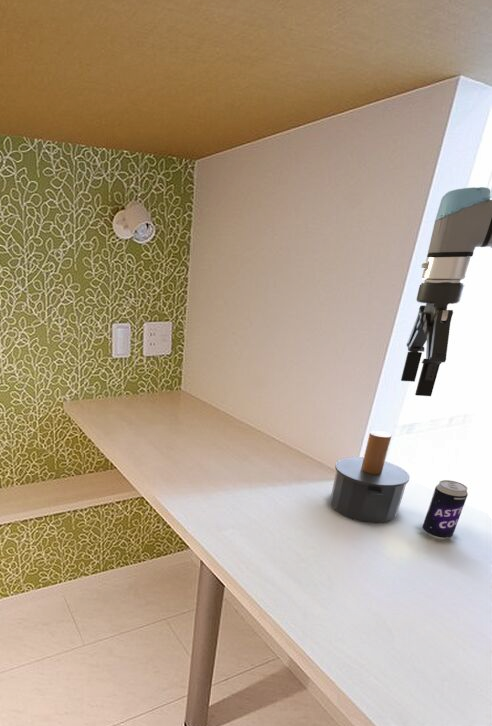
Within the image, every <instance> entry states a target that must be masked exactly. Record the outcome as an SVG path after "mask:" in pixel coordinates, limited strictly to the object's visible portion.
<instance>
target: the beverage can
mask: <svg viewBox="0 0 492 726" xmlns="http://www.w3.org/2000/svg"><path fill="white" fill-rule="evenodd" d="M468 495H469V494H468V487H467V486H466V485H465V484H463V483H461V482H460V481H459V482H458V481H455V480H451V479H450V480H449V479H444V480H440V481H439V483H438V484H437V485H436V486H435V487H434V491H433V493H432V497H431V500H430V502H429V506H428V509H427V512H426V515H425V518H424V521H423V524H422V529H423V531H424V532H425V534H426V535H428V536H429V537H431V538H434V539H437V540H446V539H448V538H451V537H453V536H454V533H455V531H456V528H457V526H458V522H459V520H460V516H461V514H462V511H463V509H464V506H465V503H466V500H467V498H468Z"/></svg>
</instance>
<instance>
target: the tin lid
mask: <svg viewBox="0 0 492 726" xmlns="http://www.w3.org/2000/svg"><path fill="white" fill-rule="evenodd" d="M391 439H392V434H391V433H390V432H387V431H383V430H371V431H370V432H369V434H368V439H367V443H366V447H365V451H364V456H363V457H361V456H352V457H345V458H341V459H339V460H337V461H336V463H335V466H334V468H335V472H336V471H337V472H338V473H339V474H340V475H342V476H343V477H345V478H347V479H349V480H351V481H354V482H357V483H360V484H364V485H369V486H374V487H385V488H391V487H399V486H403V485H405V484H406V485H407V484H408V483H409V481H410V474H409V473H408V472H407V471H406V470H405V469H403V468H402V467H400V466H398V465H397V464H394V463H391V462H388V461H386V458H387V455H388V451H389V447H390V444H391Z"/></svg>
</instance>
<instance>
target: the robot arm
mask: <svg viewBox="0 0 492 726" xmlns="http://www.w3.org/2000/svg"><path fill="white" fill-rule="evenodd" d="M430 237H431V238H430V241H429V245H428V250H427V255H426V260H425V262H423V263H422V264H421V269H423V272H422V276H421V280H424V281H423V282H421V283H420V284H419V287H418V291H417V295H416V298H415V301H416V303H418V304H423V305H420V306H419V308H418V312H417V316H416V319H415V322H414V324H413V327H412V329H411V332H410V334H409V338H408V340H407V343H406V348H407V353H406V357H405V362H404V366H403V370H402V374H401V379H400V381H401V382H415V381H416V378H417V375H418V371H419V366H420V362H421V364H422V367H421V370H420V373H419V374H420V375H419V379H418V381H417V386H416V390H415V393H414V395H415V396H418V397H419V396H420V397H421V396H422V397H432V394H433V390H434V386H435V383H436V381H437V380H436V379H437V376H438V373H439V369H440V366H441V365H442V363H445V362H446V361H447V354H448V346H449V339H450V338H449V337H450V330H451V322H452V317H453V314H454V310H453V309H448V306H449V305H453V304H458V303H460V302H461V299H462V295H463V293H464V288H465V284H464V282H463V281H465V280H467V279H468V276H469V271H470V270H471V269H470V268H471V265H472V262H473V256H474V252H475V249H476V248H486V247H487V248H488V247H489V248H491V249H492V199H491V189H490V188H488V187H483V186H481V187H464V188H457V189H453V190H450V191H448V192H446V193H445V194H444V195H443V196H442V197H441V199H440V203H439V206H438V209H437V213H436V216H435V220H434V223H433V228H432V233H431V236H430ZM425 344H426V346H425ZM425 347H426V348H425ZM425 349H426V350H425ZM424 352H425V358H423V359H422V355H423V353H424Z"/></svg>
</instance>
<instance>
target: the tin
mask: <svg viewBox="0 0 492 726" xmlns="http://www.w3.org/2000/svg"><path fill="white" fill-rule="evenodd" d="M406 485H407V484H405V485H403V486H399V487H391V488H385V487H374V486H369V485H364V484H360V483H357V482H354V481H351V480H349V479H347V478H345V477H343V476H342V475H340V474H339V473H338V472H337V471H336V470H335V475H334V479H333V484H332V489H331V493H330V501H329V503H330V506H331V508H332V509H333V510H334V511H335V512H336V513H338V514H339V515H341V516H344V517H345V518H348V519H350V520H353V521H356V522H361V523H366V524H377V525H378V524H386V523H390V522H392V521H394V520H395V519H396V518H397V515H398V512H399V509H400V505H401V503H402V499H403V496H404V493H405V489H406Z"/></svg>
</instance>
